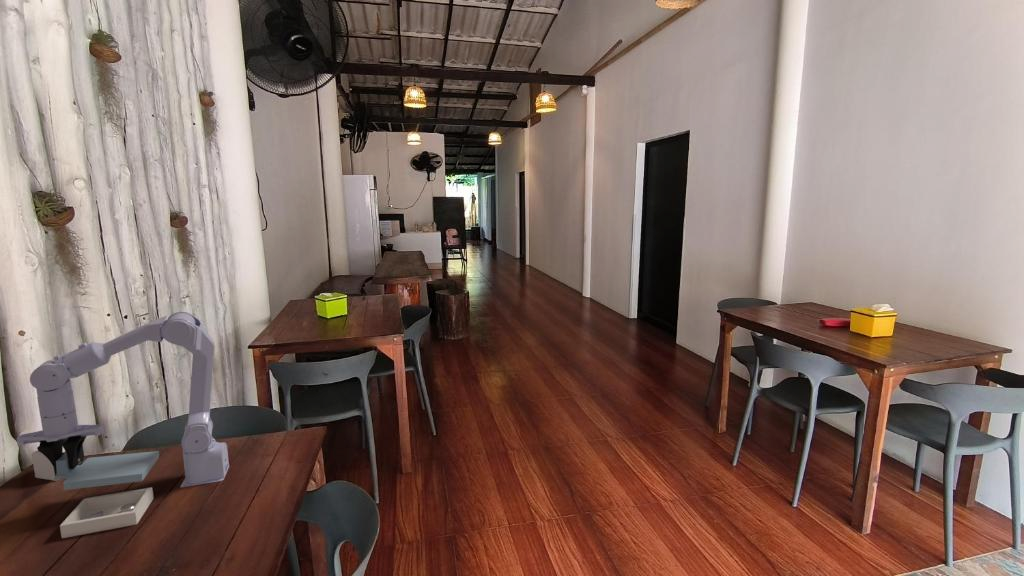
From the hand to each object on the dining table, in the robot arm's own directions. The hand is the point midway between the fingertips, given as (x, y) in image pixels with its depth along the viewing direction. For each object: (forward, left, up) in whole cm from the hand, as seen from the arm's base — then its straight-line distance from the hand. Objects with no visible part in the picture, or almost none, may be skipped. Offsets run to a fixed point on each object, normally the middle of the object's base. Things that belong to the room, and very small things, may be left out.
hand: (67, 468), depth 105 cm
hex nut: (-13, +7, -10) cm, 17 cm away
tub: (-10, +8, -10) cm, 16 cm away
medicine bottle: (+11, -20, -11) cm, 26 cm away
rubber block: (-7, +9, -10) cm, 15 cm away
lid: (-7, 0, -3) cm, 8 cm away
